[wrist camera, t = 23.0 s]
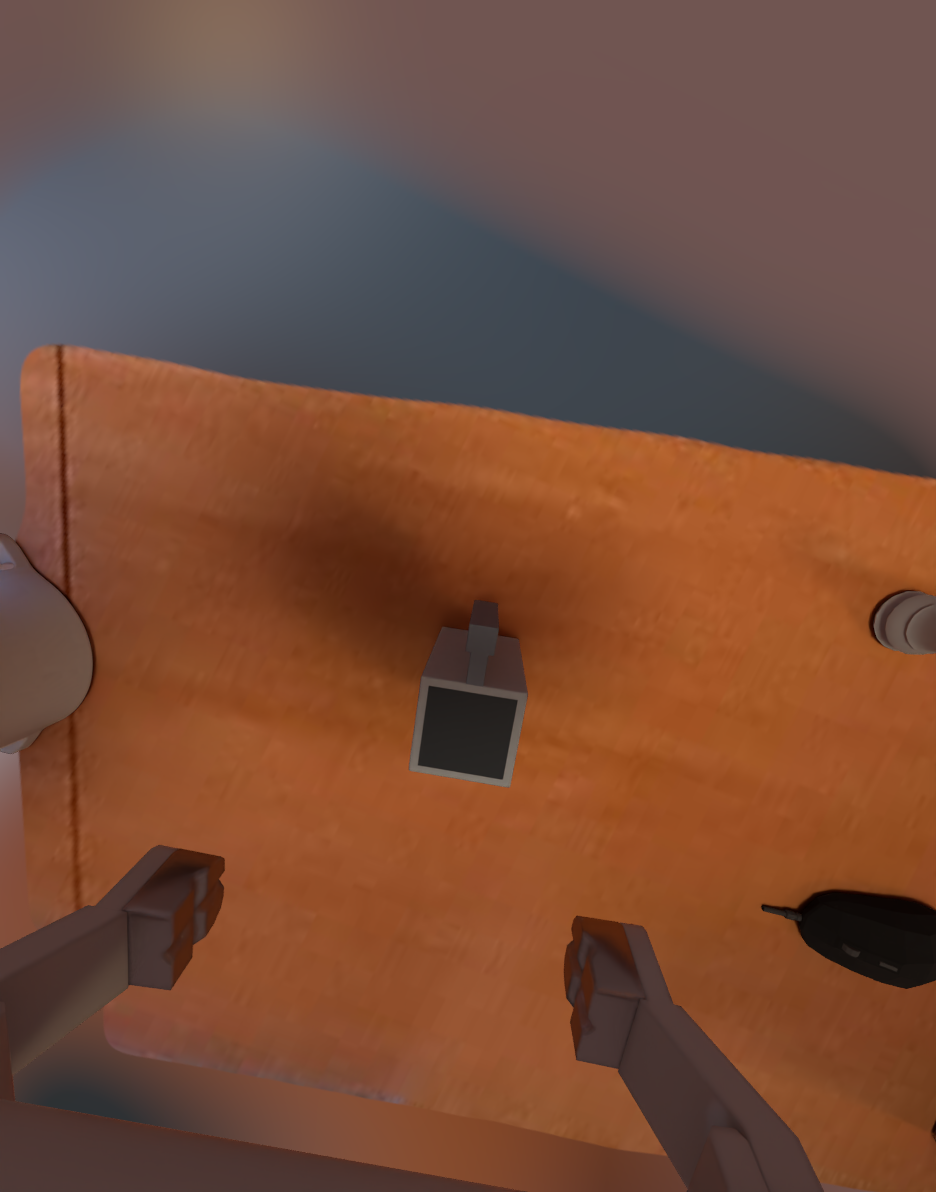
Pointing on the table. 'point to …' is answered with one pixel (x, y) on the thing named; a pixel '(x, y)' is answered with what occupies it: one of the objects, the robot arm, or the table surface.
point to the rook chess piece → (907, 623)
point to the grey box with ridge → (471, 703)
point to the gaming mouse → (871, 936)
